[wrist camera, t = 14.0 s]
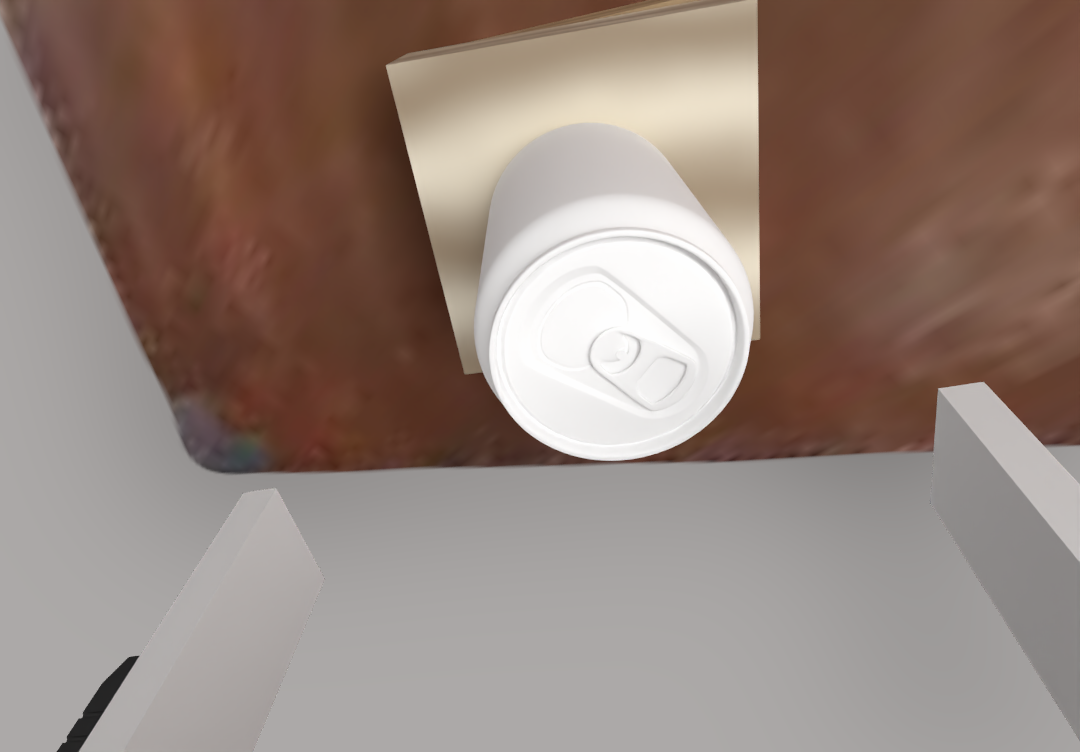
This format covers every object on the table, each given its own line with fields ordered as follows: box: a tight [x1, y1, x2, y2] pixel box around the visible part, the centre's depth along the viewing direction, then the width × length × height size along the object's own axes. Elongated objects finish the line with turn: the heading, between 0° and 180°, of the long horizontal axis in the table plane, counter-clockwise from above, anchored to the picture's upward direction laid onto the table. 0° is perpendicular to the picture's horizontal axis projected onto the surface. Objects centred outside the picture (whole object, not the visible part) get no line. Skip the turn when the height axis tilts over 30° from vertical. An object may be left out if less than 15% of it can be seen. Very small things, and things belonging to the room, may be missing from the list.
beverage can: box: [474, 123, 754, 461], centre depth 24 cm, size 8×8×12 cm
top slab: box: [386, 0, 760, 374], centre depth 31 cm, size 14×14×4 cm
